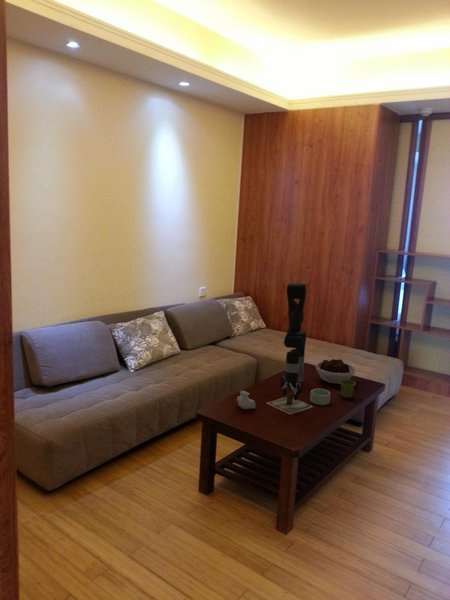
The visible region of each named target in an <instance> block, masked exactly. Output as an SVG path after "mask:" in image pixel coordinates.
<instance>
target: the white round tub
mask: <svg viewBox="0 0 450 600" xmlns="http://www.w3.org/2000/svg"><path fill="white" fill-rule="evenodd" d="M315 369H316V371H317V373H318V374H319V376H320V379H321V380H323V381H324V382H326V383H329V384H333V385H334V384H337V385H338V384H339V385H340V381H341V380H350V379H351V378H352V377H353V376H354V374H355V373H356V369H355V367H354V366H352V365H350V364H349V363H346V362H344V360H343V359H341V358H339V359H335V358H332V359H330V360H328V359H325V360H322V361H321V362H318V363H316V366H315Z"/></svg>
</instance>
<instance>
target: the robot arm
mask: <svg viewBox="0 0 450 600" xmlns="http://www.w3.org/2000/svg"><path fill="white" fill-rule="evenodd" d="M286 286H287V287H286V297H287V298H286V299H287V303H288V305H287V308H288V310H287V315H288V316H287V317H288V328H287V332H286V334H285V337H284V340H283V344H284V345H283V346H285V348H289V349H291V350H289V351H287V352H286V357H285V358H286V359H285V366H284V376H281V377H280V382H279V388H281V389H282V396H283V397H284V396H285V397H286V396H287V393H288V392H287V390H288V389H287V388H290V389H291V391H292V392H293V398H294V400H299V395H300V394H302V389H303V388H302V387H303V384H302V382H303V380H304V369H305V367H304V366H305V354H306V353H305V352H306V351H305V350H306V349H305V348H306V343H307V342H306V341H307V333H306V331H303V330H302V323H303V321H304V319H305V318H304V316H305V315H304V314H305V313H304V308H305V302H306V296H307V286H306V284H305V283H301V282H300V283H299V282H298V283H297V282H290V283H288V284H287V285H286ZM296 300H299V302H297V301H296Z"/></svg>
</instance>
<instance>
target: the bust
mask: <svg viewBox="0 0 450 600" xmlns="http://www.w3.org/2000/svg"><path fill="white" fill-rule="evenodd" d="M239 395H240V396H237V398H236V402H237V404H238V407H240V408H241V409H242V410H249V409H252V410H253V409H255V408H256V403H255V401H254V400H253V399H250V398H249V395H250V393H249V392H247V391H246V390H240V392H239Z"/></svg>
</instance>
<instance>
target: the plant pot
mask: <svg viewBox="0 0 450 600" xmlns="http://www.w3.org/2000/svg"><path fill="white" fill-rule="evenodd" d="M339 385H340V394H341V397H343V398H352V397H353V393H354V387H355V385H356V381H353V380H350V379H349V380H341V381H340V384H339Z"/></svg>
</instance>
